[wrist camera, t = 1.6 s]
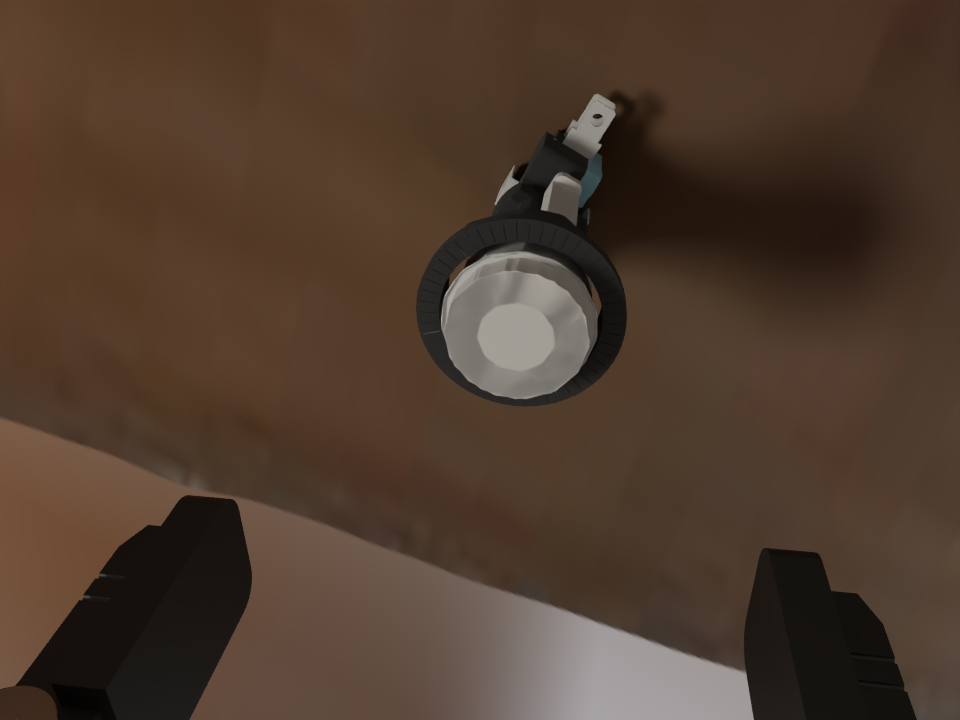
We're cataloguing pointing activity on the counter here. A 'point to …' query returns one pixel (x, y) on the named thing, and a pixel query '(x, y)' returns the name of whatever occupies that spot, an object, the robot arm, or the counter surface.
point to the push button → (529, 282)
